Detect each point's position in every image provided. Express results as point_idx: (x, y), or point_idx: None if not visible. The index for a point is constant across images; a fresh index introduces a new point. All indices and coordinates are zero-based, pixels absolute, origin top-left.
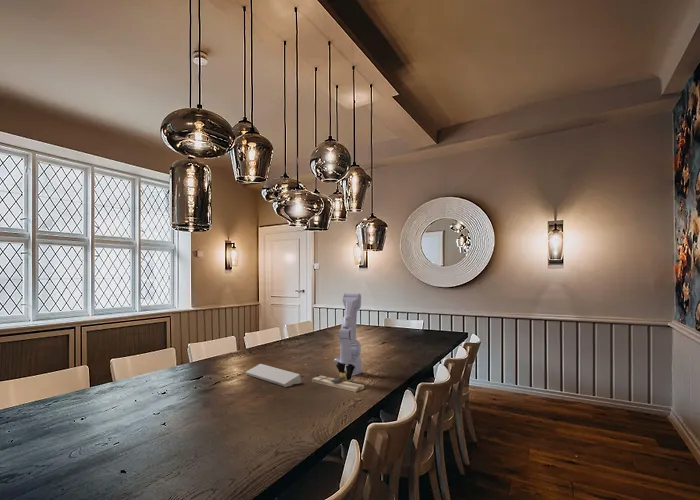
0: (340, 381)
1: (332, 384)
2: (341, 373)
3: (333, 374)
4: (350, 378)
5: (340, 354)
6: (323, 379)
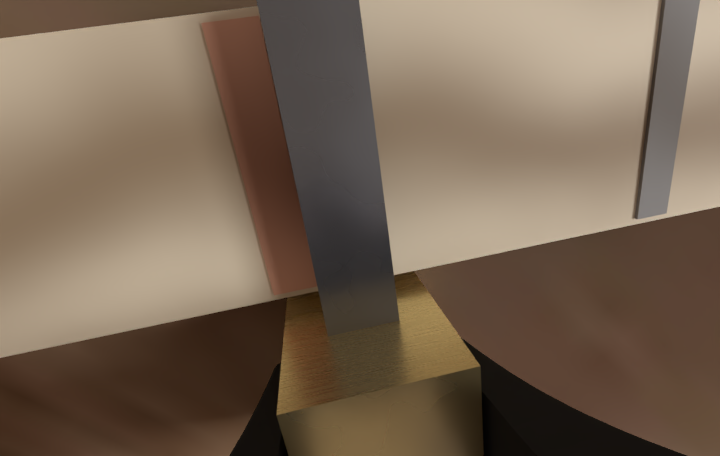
0: None
1: None
2: (412, 366)
3: (680, 396)
4: None
5: None
6: (642, 68)
